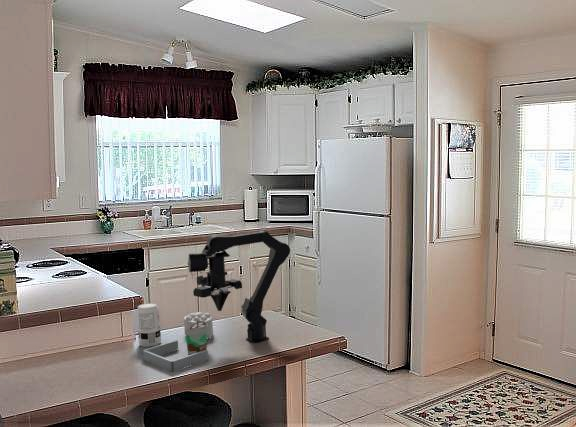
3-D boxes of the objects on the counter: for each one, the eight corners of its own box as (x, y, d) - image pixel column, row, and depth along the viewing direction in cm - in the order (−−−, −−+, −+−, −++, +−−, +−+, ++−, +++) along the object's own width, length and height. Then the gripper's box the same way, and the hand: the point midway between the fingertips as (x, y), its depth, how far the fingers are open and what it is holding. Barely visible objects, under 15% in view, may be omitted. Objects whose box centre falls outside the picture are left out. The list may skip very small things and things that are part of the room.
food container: (203, 357, 209) (201, 330, 208) (186, 357, 211) (184, 329, 210) (214, 346, 221) (212, 320, 220) (198, 345, 223) (197, 319, 222)
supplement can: (134, 344, 227) (132, 306, 226) (153, 339, 233) (150, 301, 232) (147, 349, 222) (144, 309, 220) (165, 343, 228) (162, 304, 226)
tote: (177, 349, 220) (176, 340, 219) (207, 360, 206) (206, 350, 206) (142, 359, 210) (142, 350, 210) (172, 372, 197) (171, 361, 196)
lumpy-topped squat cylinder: (207, 329, 243) (206, 308, 242) (217, 338, 231) (216, 316, 230) (182, 333, 239) (181, 312, 238) (191, 342, 227) (189, 320, 226)
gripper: (223, 263, 232) (225, 302, 233) (183, 271, 219) (186, 312, 220) (241, 266, 224) (244, 306, 225) (201, 274, 211) (204, 318, 212)
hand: (219, 310), depth 221 cm, fingers closed
